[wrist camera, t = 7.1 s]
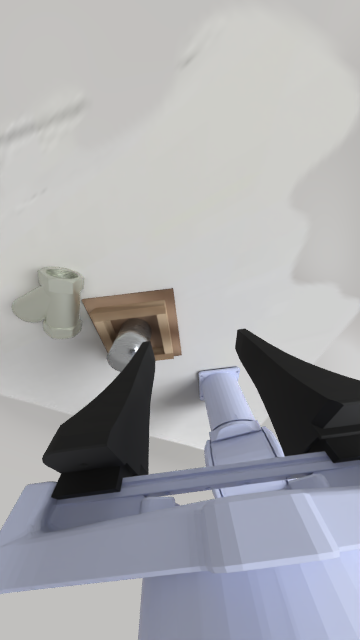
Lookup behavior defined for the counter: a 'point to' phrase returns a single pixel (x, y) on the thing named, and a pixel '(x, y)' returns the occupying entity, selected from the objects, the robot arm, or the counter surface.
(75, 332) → the pipe fitting
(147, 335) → the silver metal cylinder
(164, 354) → the cradle board
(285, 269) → the counter surface
